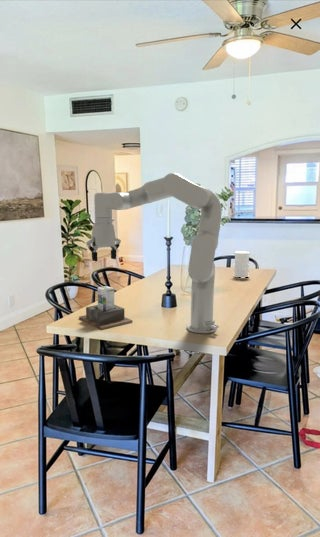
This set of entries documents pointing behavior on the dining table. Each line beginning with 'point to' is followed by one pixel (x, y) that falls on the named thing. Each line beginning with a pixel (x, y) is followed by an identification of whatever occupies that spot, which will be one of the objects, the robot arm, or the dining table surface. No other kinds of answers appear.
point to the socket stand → (105, 317)
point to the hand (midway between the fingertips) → (104, 259)
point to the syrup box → (105, 298)
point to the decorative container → (241, 264)
